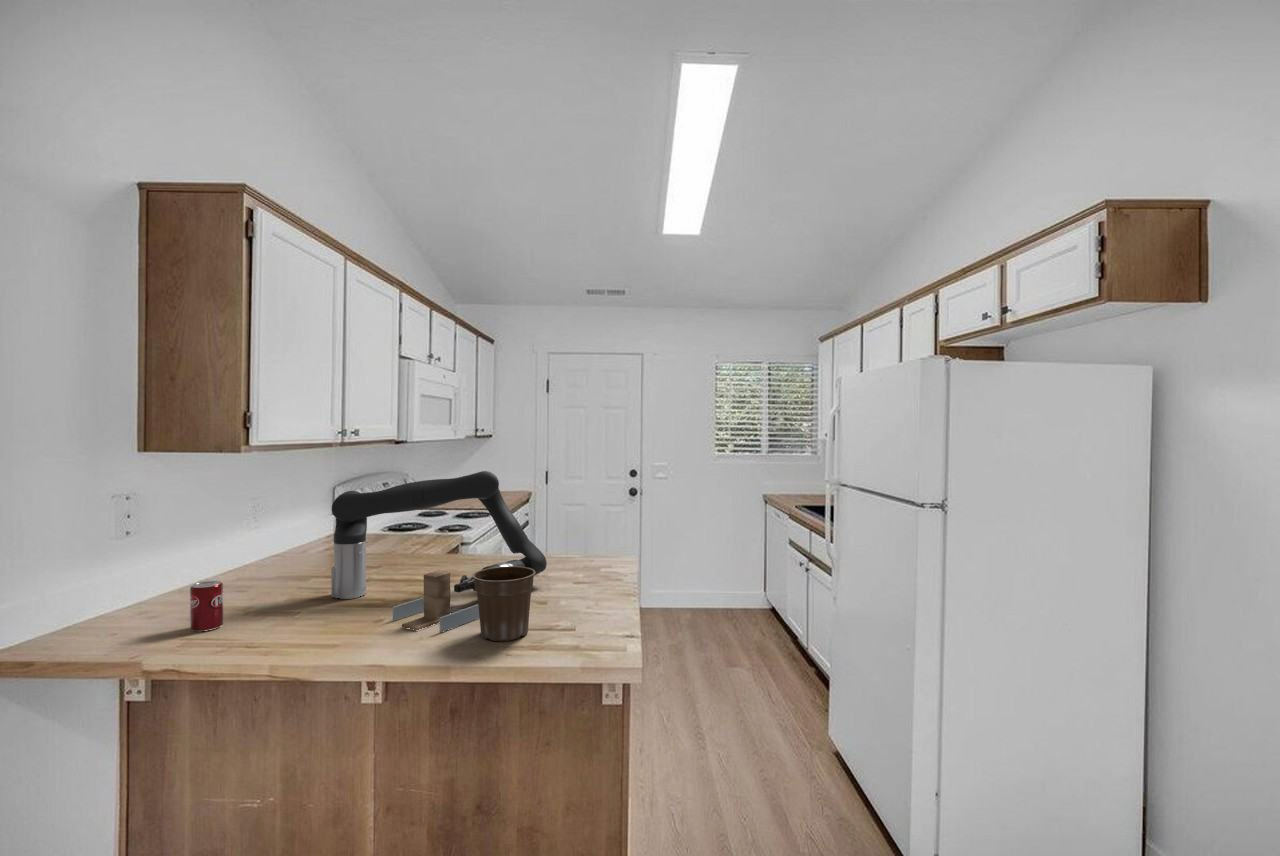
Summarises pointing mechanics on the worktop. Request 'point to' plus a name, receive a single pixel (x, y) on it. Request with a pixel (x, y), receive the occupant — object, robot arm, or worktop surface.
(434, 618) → the walnut post stand
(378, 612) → the worktop surface
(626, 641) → the worktop surface
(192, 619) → the soda can
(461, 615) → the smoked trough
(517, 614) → the plant pot
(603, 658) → the worktop surface
